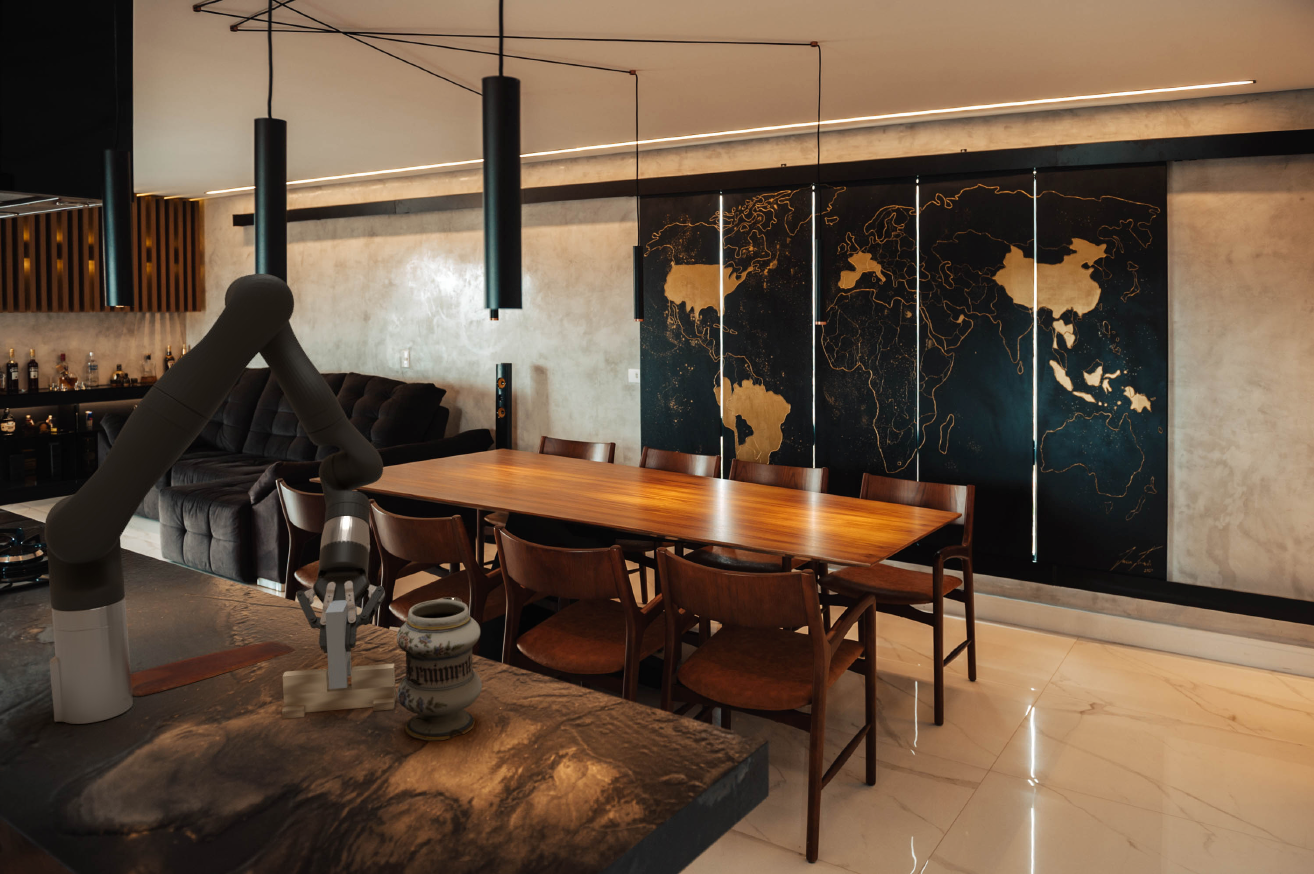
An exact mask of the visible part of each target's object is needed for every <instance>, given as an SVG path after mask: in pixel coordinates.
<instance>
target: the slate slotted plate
mask: <svg viewBox="0 0 1314 874" xmlns="http://www.w3.org/2000/svg"><path fill="white" fill-rule="evenodd" d="M325 615H326V634H327V653H326V654H327V669H328V677H329V689H337V688H347V686H348V685H349V681H348V680H349V679H348V678H349V677H351V670H352V657H351V656H352V654H351V652H346V650H345V635H346V624H348V617H347V602H346V600H339V601H333V602H332V603H330V604H329V606H328V608H327V610H326V612H325Z"/></svg>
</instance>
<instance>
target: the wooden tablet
mask: <svg viewBox="0 0 1314 874" xmlns="http://www.w3.org/2000/svg"><path fill="white" fill-rule="evenodd" d="M294 651H295V648H294V647H292V646H290V645H287V644H282V643H280V642H277V641H266V642H259V643H254V644H250V645H244V646H240V647H236V648H231V649H227V650H222V651H217V652H212V653H208V654H204V655H200V656H195V657H190V658H186V659H183V660H178V661H174V662H170V663H166V664H162V665H159V666H154V667H151V668H147V669H144V670H140V671H136V672H133V673H131V685H132V697H133V696H134V697H135V696H141V697H145V696H149V695H153V694H156V693H161V692H164V690H165V691H168V690H171V689H175V687H176V688H178V687H182V686H187V685H190V684H193V683H196V682H200V681H203V680H206V679H209V678H213V677H216V676H219V675H223V674H226V673H229V672H233V671H237V670H240V669H243V668H247V667H249V666H253V665H255V664H256V665H257V664H259V663H262V662H265V661H269V660H272V659H274V658H278V657H281V656H284V655H286V654H289V653H292V652H294ZM160 691H161V692H160ZM144 695H145V696H144Z"/></svg>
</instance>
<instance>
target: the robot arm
mask: <svg viewBox="0 0 1314 874" xmlns="http://www.w3.org/2000/svg"><path fill="white" fill-rule="evenodd" d="M294 308H295V298H294V294H293V292H292V290H291V288H290V286H289V285H288V283H286V282H285V281H284V280H283V279H281V278H280V277H278V276H275V275H272V274H267V273H253V274H246V275H244V276H240V277H238V278H236V279H235V280H233V281H232V282H231V283H230V284H229V285H228V287H227V289H226V291H225V295H224V308H223V310H222V312H221V313H220V315H218V317H217V319H216V320H215V322H214V324H213V325H212V326H211V328H210V329H209V330H208V331H207V333H206V334H205V335H204V336H203V337H202V339H200V341H198V342H197V343H196V345H194V346H193V347H192V348H191V349H190V350H188V351H187V352H186V353H184V354H183V355H182V356H180V358H179V359H178V360H177V361H175V362H174V363H173V365H171V366H170V367H169V368H168V369H167V370H166V371H165V372H164V373H163V374H162V375H161V376H160V377H159V378H158V379H157V380H156V382H154V384H153V386H151V388H150V389H149V390H148V391H147V392H146V394H145V395H144V396H143V397H142V398H141V400H140V402H139V403H138V404H137V405H136V407H135V408H134V409H133V411H132V412H131V414H130V415H129V416H128V418H127V420H126V421H125V422H124V425H123V426H122V428H121V430H120V432H119V434H118V435H117V436H116V438H115V440H114V443H113V444H112V446H111V448H110V450H109V452H108V453H107V455H106V457H105V458H104V460H103V462H102V463H101V465H100V466H98V468H97V470H96V471H95V472H94V473H92V475H91V477H90V478H88V479H87V480H86V482H85V483H84V484H83V485H82V486H81V487H80V488H79V490H77V491H76V492H75V493H74V494H71V495H68V496H66V497H64V498H62V499H60V500H58V501H57V502H56V503H55V504H54V505H53V506H52V507H51V508H50V509H49V511H48V514H46V515H47V516H46V518H45V522H44V533H43V534H44V540H45V543H46V550H47V551H46V553H47V563H48V579H49V581H48V582H49V597H50V598H49V599H50V607H51V614H52V615H51V619H52V628H53V641H54V653H55V655H54V656H53V657H52V658H50V660H49V671H50V683H51V684H50V685H51V695H52V696H51V698H52V708H53V719H54V722H55V723H56V722H63V723H64V722H65V723H66V724H73V725H74V724H77V725H79V724H90V723H91V724H92V723H97V722H101V721H104V720H105V721H106V720H108V719H112V718H114V717H117V716H119V715H121V714H125V712H127V711H128V710H130V708H132V707H133V704H134V703H133V695H132V685H131V674H132V672H131V661H130V660H131V657H130V646H129V645H130V644H129V633H128V632H129V631H128V630H129V629H128V620H127V619H128V617H127V604H126V593H125V592H126V590H125V578H124V569H123V568H124V567H123V562H122V561H123V559H122V545H121V543H122V542H121V536H122V535H123V533H124V531H125V529H126V528H127V526H128V524H130V521H131V520H132V518H133V516H134V515H135V513H136V512H137V511H138V509H139V507H140V505H141V504H142V502H143V501H144V499H145V498H146V497H147V495H148V493H150V491H151V490H152V488H153V487H154V486H155V485H156V483H158V482H159V480H161V478H162V477H163V476H164V475H165V474H166V473H167V472H168V471H169V470H170V469H171V468H172V467H173V465H175V463H176V462H177V461H178V460H179V458H180V457H181V456H182V455H183V453H184V452H185V451H186V450H187V449H188V448H189V447H190V446H191V444H192V443H193V442H194V441H195V440H196V439H197V438H198V436H199V435H200V433H202V431H203V430H204V428H205V427H206V426H207V425H208V423H209V422H210V420H211V419H212V418H213V416H215V414H216V412H217V411H218V409H219V408H220V406H221V405H222V404H223V402H224V401H225V400H226V398H227V396H228V395H229V394H230V392H231V391H232V389H233V388H234V386H235V384H236V383H237V382H238V380H239V378H240V377H241V375H242V373H243V372H244V371H245V369H246V368H247V367H248V365H249V364H250V363H251V362H252V361H253V359H254V358H255V357H256V356H257V355H258V354H259V355H260V356H261V357H262V359H263V361H265V363H266V365H267V366H268V368H269V370H270V371H271V372H272V374H273V376H274V378H275V379H276V381H277V383H278V384H279V385H278V386H280V389H281V391H282V393H284V396H285V397H286V399H287V402H288V404H289V405H290V406H291V408H292V410H293V412H294V414H295V416H296V417H297V419H298V421H299V423H300V425H301V426H302V428H303V430H304V432H305V433H306V435H307V436H308V439H309V440H310V441H311V442H312V443H313V445H315V446H318V447H319V446H320V447H324V446H325V447H327V446H334V447H338V448H339V449H340V451H337V452H335V453H332V454H330V455H327V456H326V457H324V458H323V460H322V461H321V463H320V465H319V469H318V477H319V481H320V484H321V487H322V492H323V498H324V503H325V514H324V515H325V516H324V523H323V524H324V525H323V530H322V534H321V539H320V549H319V550H320V551H319V561H318V569H317V578H316V581H315V582H314V583H313V586H312V588H310V589H308V590H306V591H304V590H297V591H296V593H295V596H296V599H297V601H298V604H299V605H300V608H301V610H302V612H303V614H304V616H305V618H306V620H307V622H308V624H309V627H310V628H311V629H315V630H316V629H318V630H319V637H318V645H319V648H320V650H321V651H323V653H324V654H328V653H327V634H326V615H325V612H326V610H327V608H328V606H329V604H330V603H332V602H333V601H339V600H346V602H347V617H348V624H346V635H345V650H346V652H351V651H352V649H353V648H355V647H356V645H357V630H358V628H359V627H360V626H368V625H369V624H370V623H371V621H372V619H373V618H374V616H375V615H376V613H377V611H378V610H379V608H380V606H381V605H382V603H383V602H384V600H385V598H386V592H385V589H384V586H383V585H378V586H375V585H373V584H371V583H370V580H369V578H368V577H369V575H368V573H369V559H370V552H371V545H370V543H371V541H370V537H371V536H370V517H371V516H370V514H371V504H370V502H371V501H370V499H369V498H368V496H367V495H366V494H364V493H363V492H360V491H357V490H356V489H358V488H361V487H365V486H368V485H371V484H374V483H376V482H378V481H380V479H381V478H382V476H383V472H384V462H383V459H382V456H381V454H380V452H379V451H378V450H377V448H376V447H374V445H373V444H372V443H371V442H370V441H369V440H368V439H367V438H366V437H365V436H364V435H363V434H362V433H361V432H360V431H359V430H358V429H357V427H355V425H354V424H353V423H352V422H351V421H350V420H349V418H348V417H347V414H346V413H345V411H344V409H343V408H342V406H341V404H340V402H339V400H338V399H337V396H336V395H335V393H334V392H333V389H332V388H331V386H330V385H329V384H328V382H327V381H326V379H325V378H324V377H323V375H322V374H321V372H320V371H319V370H318V369H317V367H316V366H315V365H314V363H313V362H312V361H311V360H310V358H309V356H308V355H307V353H306V352H305V351H304V349H303V347H302V345H301V344H300V341H299V340H298V338H297V336H296V334H295V332H294V330H293V328H292V325H291V323H290V320H291V318H292V315H293V313H294ZM367 594H368V601H367V603H366V604H365V606H364V607H363V609H362V611H361V612H360V613H359V614H358V611H357V610H358V609H357V608H358V606H357V605H359V603H360V602H361V601H362V600H363V599H364V598H365V596H366V595H367ZM315 596H316V597H317V599H319V601H320V602H321V604H322V611H321V616H316V614H315V611H314V610H313V608H312V605H313V604H314V598H315Z"/></svg>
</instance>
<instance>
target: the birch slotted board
mask: <svg viewBox="0 0 1314 874" xmlns="http://www.w3.org/2000/svg"><path fill="white" fill-rule="evenodd" d="M395 675H396V674H395V663H385V664H371V665H369V664H367V665H358V666H357V665H356V666H351V676H350V678H351V685H350V684H348V686H347V688H337V689H329V673H328V668H318V669H316V668H315V669H304V670H293V671H292V670H288V671H285V672H284V673H283V675H282V686H283V687H282V690H283V691H282V692H283V706H284V707H283V708H282V710H281V717H282V718H281V719H283V720H284V719H296V718H304V717H305V716H306V715H305V714H306V713H315V712H326V711H336V710H350V709H360V708H372V711H373V712H378V711H389V710H394V709H395V705H396V704H395V703H396V700H397V688H396V676H395Z"/></svg>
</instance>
